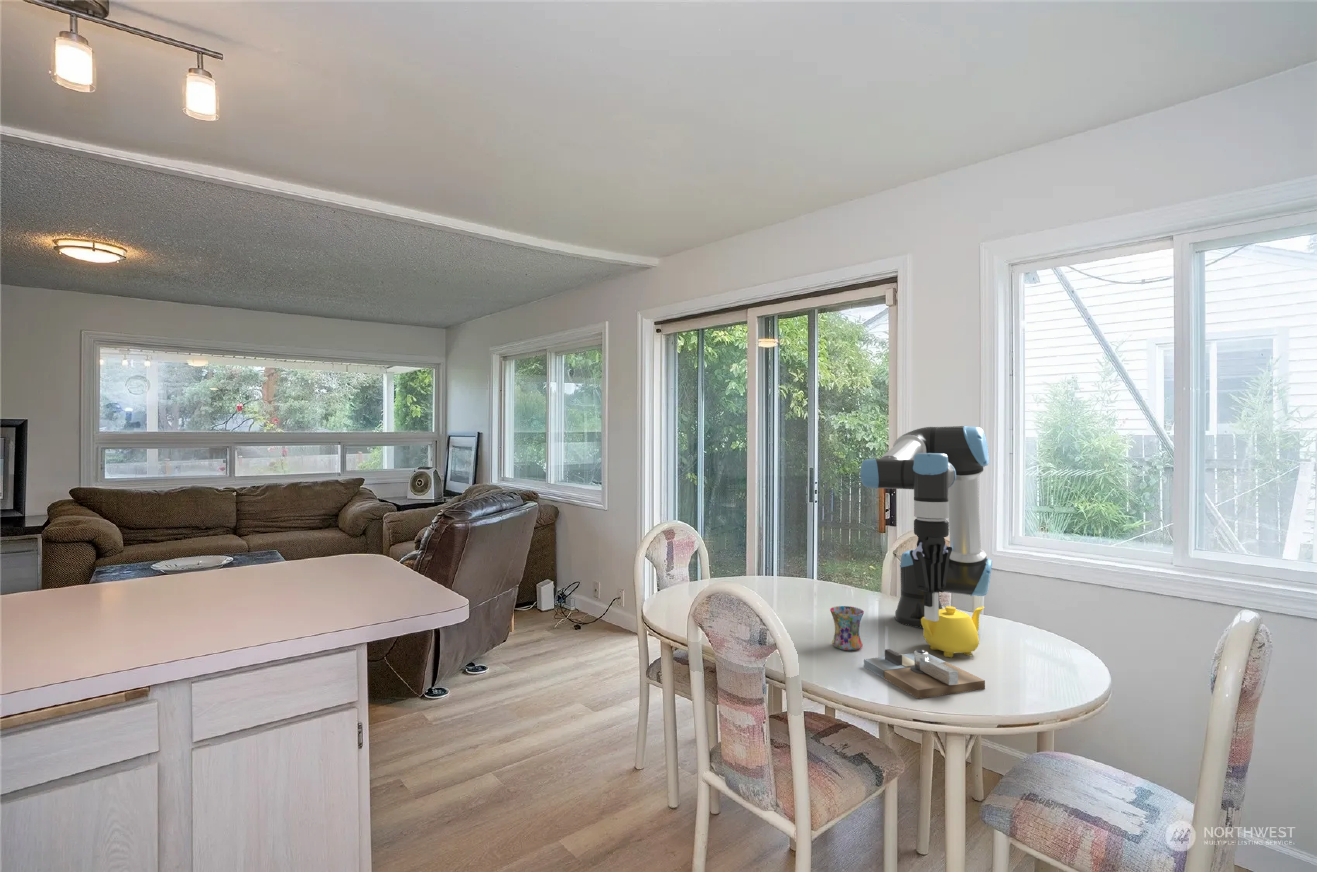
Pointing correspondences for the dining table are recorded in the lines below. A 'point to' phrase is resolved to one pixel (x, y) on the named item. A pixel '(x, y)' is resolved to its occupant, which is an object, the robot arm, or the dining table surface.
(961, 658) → the dining table surface
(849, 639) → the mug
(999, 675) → the dining table surface
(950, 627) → the teapot
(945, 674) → the latch bar
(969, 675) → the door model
